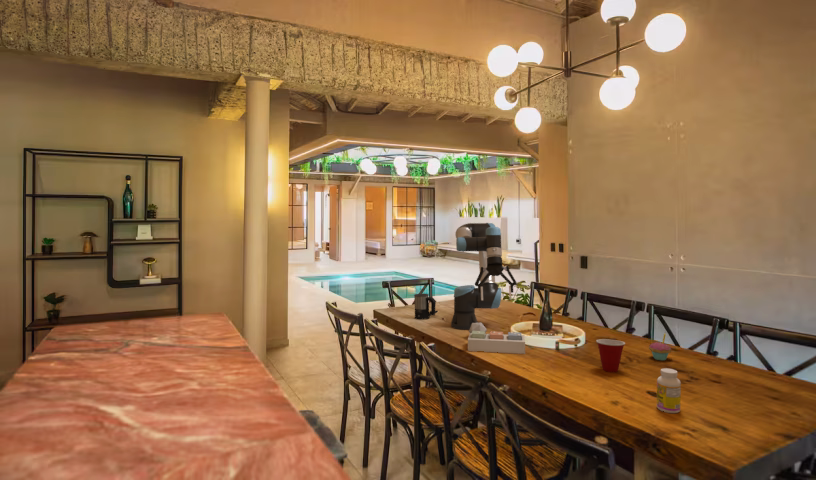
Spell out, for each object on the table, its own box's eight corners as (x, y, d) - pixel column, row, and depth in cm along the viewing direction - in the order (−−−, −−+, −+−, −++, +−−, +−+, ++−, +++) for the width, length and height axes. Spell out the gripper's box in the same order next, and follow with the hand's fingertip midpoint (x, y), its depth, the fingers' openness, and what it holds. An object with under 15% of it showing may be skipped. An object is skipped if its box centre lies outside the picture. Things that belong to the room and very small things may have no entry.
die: (484, 342, 231) (491, 325, 234) (469, 334, 231) (476, 317, 234) (478, 343, 239) (485, 327, 242) (464, 335, 239) (471, 319, 242)
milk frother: (413, 319, 281) (412, 295, 280) (416, 314, 296) (416, 291, 295) (436, 320, 278) (435, 296, 277) (438, 314, 294) (438, 291, 293)
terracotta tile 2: (490, 338, 220) (490, 330, 220) (502, 339, 219) (502, 331, 219) (489, 341, 215) (489, 334, 214) (502, 342, 213) (502, 334, 213)
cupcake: (670, 357, 201) (670, 330, 200) (672, 362, 193) (672, 335, 193) (648, 354, 205) (648, 328, 204) (649, 360, 197) (649, 333, 196)
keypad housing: (470, 343, 226) (469, 332, 225) (524, 346, 220) (524, 335, 220) (467, 351, 214) (467, 339, 214) (525, 353, 208) (525, 342, 208)
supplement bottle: (654, 404, 152) (655, 366, 151) (677, 406, 150) (677, 368, 149) (659, 412, 145) (660, 373, 145) (682, 415, 143) (683, 374, 143)
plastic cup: (623, 367, 189) (623, 338, 188) (626, 375, 179) (626, 345, 178) (595, 364, 193) (595, 336, 192) (596, 372, 182) (596, 343, 182)
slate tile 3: (508, 339, 219) (508, 331, 218) (521, 339, 217) (521, 332, 217) (508, 342, 213) (508, 334, 213) (521, 343, 211) (521, 335, 211)
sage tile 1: (472, 337, 222) (472, 330, 222) (485, 338, 221) (485, 330, 221) (471, 341, 216) (471, 333, 216) (484, 341, 215) (484, 333, 215)
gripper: (468, 256, 228) (469, 299, 222) (519, 254, 222) (522, 297, 216) (470, 260, 235) (471, 301, 229) (520, 257, 229) (522, 300, 223)
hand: (496, 299), depth 223 cm, fingers open, 13 cm apart
